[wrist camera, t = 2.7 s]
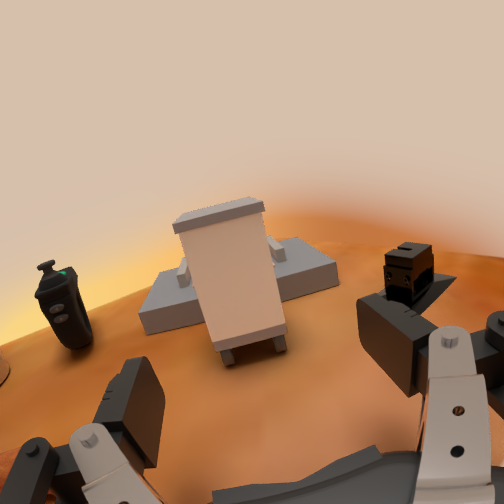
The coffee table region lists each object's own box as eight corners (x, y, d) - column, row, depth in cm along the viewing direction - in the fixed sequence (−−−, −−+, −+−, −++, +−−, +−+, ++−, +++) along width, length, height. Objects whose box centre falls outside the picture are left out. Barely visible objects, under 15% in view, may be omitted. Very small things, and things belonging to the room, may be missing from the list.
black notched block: (413, 267, 30) (410, 227, 28) (470, 278, 23) (470, 233, 22) (337, 318, 24) (331, 268, 23) (407, 345, 18) (408, 286, 17)
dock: (146, 335, 28) (129, 289, 27) (165, 288, 41) (154, 255, 40) (339, 284, 29) (332, 237, 28) (300, 253, 43) (293, 219, 42)
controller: (64, 370, 23) (21, 274, 20) (69, 328, 33) (42, 257, 31) (100, 356, 25) (61, 259, 22) (96, 318, 35) (70, 247, 33)
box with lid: (220, 374, 19) (172, 224, 17) (217, 332, 26) (182, 213, 23) (295, 354, 20) (262, 201, 17) (276, 316, 26) (248, 196, 23)
